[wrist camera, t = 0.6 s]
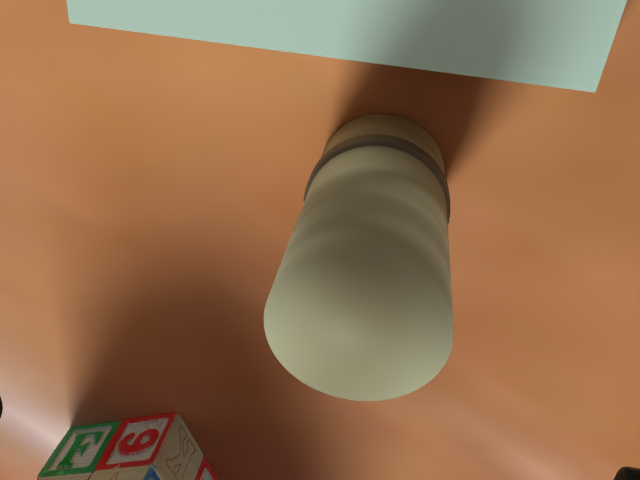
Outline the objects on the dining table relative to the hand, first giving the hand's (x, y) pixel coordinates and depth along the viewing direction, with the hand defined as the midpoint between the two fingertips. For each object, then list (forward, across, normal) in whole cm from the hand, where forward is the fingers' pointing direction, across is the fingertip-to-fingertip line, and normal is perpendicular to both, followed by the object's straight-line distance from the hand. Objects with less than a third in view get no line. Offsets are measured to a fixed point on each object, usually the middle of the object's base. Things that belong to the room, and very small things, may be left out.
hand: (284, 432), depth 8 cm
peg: (+12, -1, +2) cm, 12 cm away
